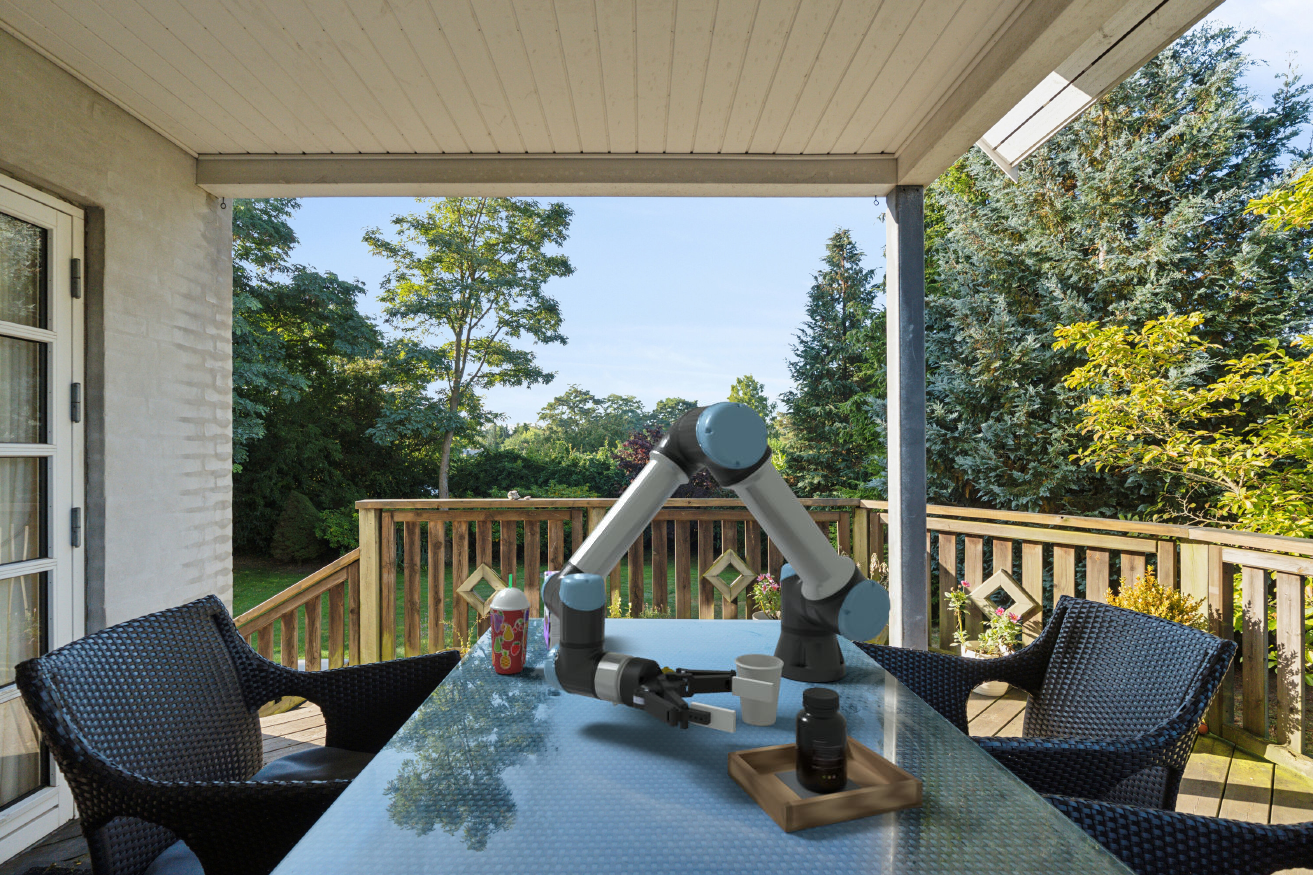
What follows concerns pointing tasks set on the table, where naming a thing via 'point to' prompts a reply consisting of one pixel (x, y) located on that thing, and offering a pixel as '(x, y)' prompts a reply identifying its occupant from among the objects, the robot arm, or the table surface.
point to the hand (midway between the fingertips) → (754, 706)
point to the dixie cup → (765, 671)
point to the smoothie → (509, 629)
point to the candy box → (551, 623)
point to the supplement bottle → (821, 742)
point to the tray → (798, 808)
